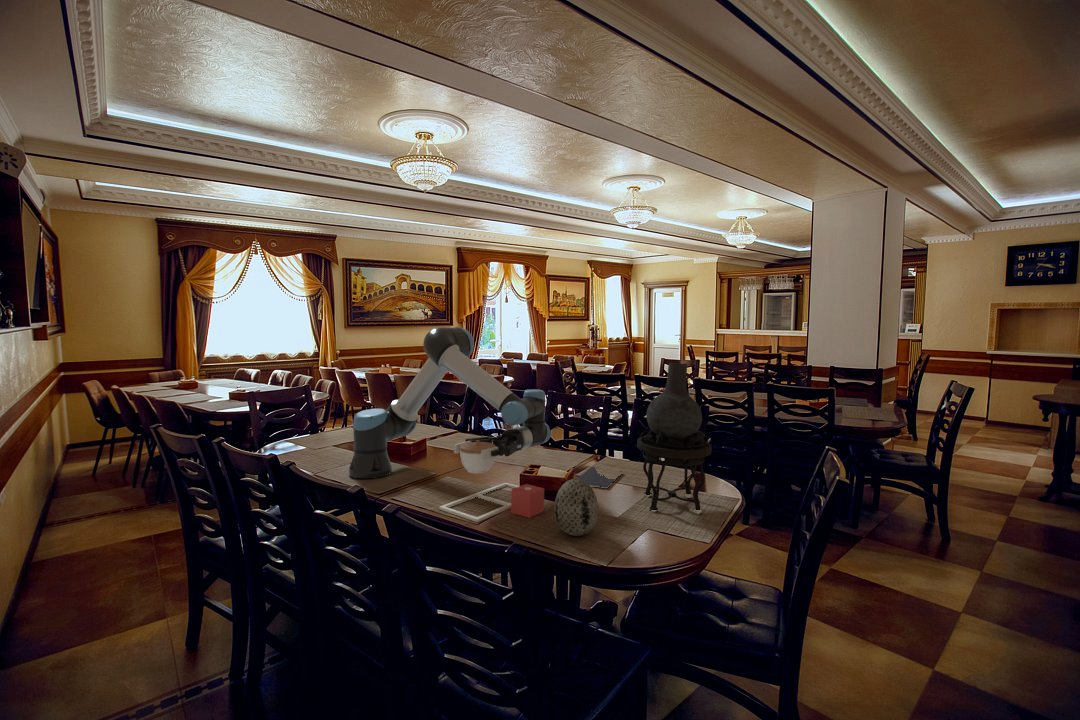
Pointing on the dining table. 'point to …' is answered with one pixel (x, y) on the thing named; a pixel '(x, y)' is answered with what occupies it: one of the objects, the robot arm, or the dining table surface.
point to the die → (527, 500)
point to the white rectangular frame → (480, 495)
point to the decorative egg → (576, 507)
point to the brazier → (674, 436)
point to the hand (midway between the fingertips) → (468, 452)
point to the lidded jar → (475, 457)
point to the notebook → (595, 479)
